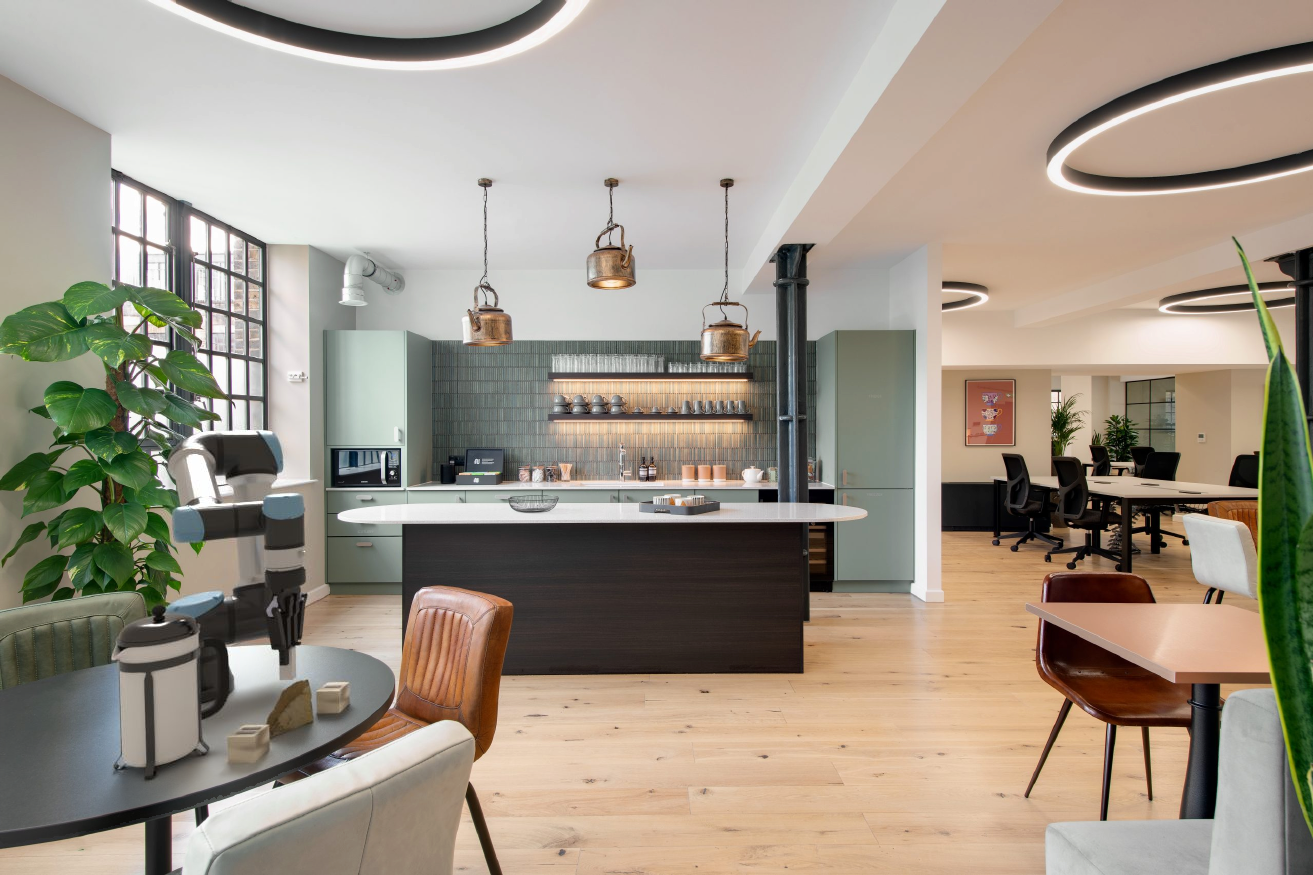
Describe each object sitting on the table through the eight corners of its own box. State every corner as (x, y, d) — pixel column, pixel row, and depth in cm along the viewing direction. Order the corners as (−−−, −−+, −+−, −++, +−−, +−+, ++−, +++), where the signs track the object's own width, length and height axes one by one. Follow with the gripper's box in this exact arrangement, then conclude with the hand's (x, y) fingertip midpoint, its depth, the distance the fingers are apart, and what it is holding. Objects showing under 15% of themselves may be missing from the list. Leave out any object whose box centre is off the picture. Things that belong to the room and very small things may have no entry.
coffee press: (199, 773, 120) (195, 611, 119) (94, 788, 115) (89, 619, 115) (231, 731, 136) (228, 588, 136) (141, 742, 132) (137, 595, 131)
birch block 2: (327, 704, 150) (327, 682, 150) (349, 703, 150) (349, 681, 150) (316, 713, 145) (316, 690, 145) (339, 713, 145) (338, 690, 145)
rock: (261, 735, 130) (316, 716, 135) (254, 693, 133) (308, 676, 139) (265, 748, 138) (317, 729, 143) (258, 709, 141) (310, 692, 147)
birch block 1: (244, 750, 129) (243, 724, 129) (269, 749, 129) (269, 724, 129) (227, 763, 124) (227, 736, 124) (254, 762, 124) (253, 736, 124)
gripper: (285, 573, 131) (288, 690, 131) (319, 560, 144) (321, 666, 144) (248, 574, 131) (251, 691, 131) (284, 561, 144) (287, 667, 144)
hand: (288, 678), depth 138 cm, fingers closed
